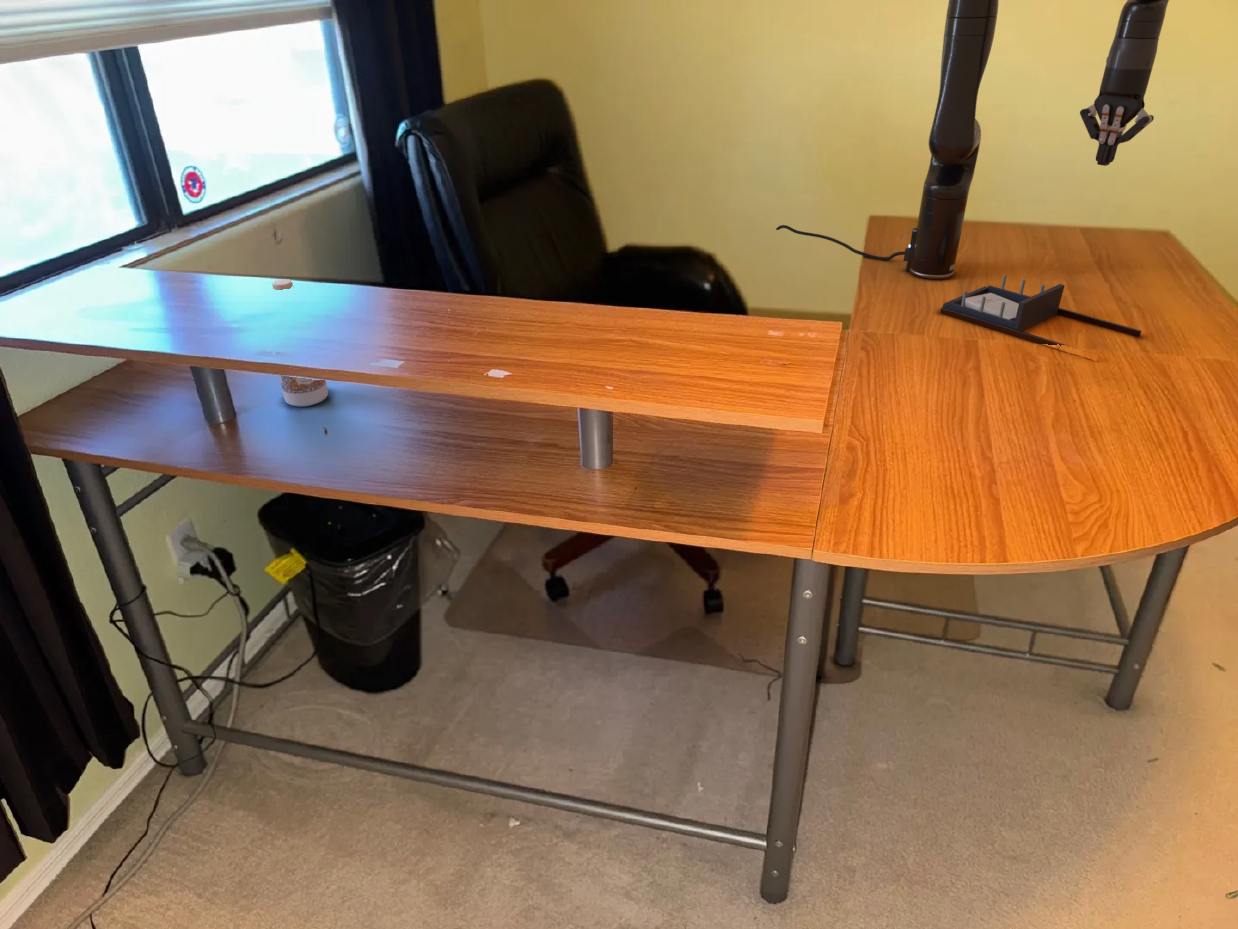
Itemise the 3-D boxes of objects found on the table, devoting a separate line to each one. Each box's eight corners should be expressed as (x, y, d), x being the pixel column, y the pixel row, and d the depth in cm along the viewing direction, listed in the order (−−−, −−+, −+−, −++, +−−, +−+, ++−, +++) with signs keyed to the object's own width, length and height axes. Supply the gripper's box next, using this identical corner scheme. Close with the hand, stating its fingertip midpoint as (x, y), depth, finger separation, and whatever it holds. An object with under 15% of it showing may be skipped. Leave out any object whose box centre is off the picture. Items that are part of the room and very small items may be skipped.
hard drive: (1007, 326, 168) (960, 305, 178) (1039, 319, 171) (991, 299, 181) (1009, 318, 168) (962, 297, 177) (1041, 311, 171) (992, 291, 180)
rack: (941, 310, 176) (947, 281, 173) (983, 293, 184) (989, 265, 181) (1017, 333, 165) (1024, 303, 162) (1057, 314, 174) (1064, 284, 171)
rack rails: (940, 313, 175) (941, 307, 175) (987, 293, 185) (988, 287, 184) (1095, 361, 155) (1097, 355, 154) (1139, 336, 164) (1141, 330, 164)
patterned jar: (291, 411, 142) (264, 292, 131) (279, 395, 147) (253, 279, 136) (334, 400, 145) (311, 283, 135) (321, 385, 150) (298, 271, 140)
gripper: (1177, 66, 155) (1148, 167, 164) (1102, 59, 164) (1078, 156, 173) (1158, 70, 151) (1129, 173, 160) (1082, 63, 160) (1059, 161, 169)
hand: (1103, 164), depth 167 cm, fingers closed
